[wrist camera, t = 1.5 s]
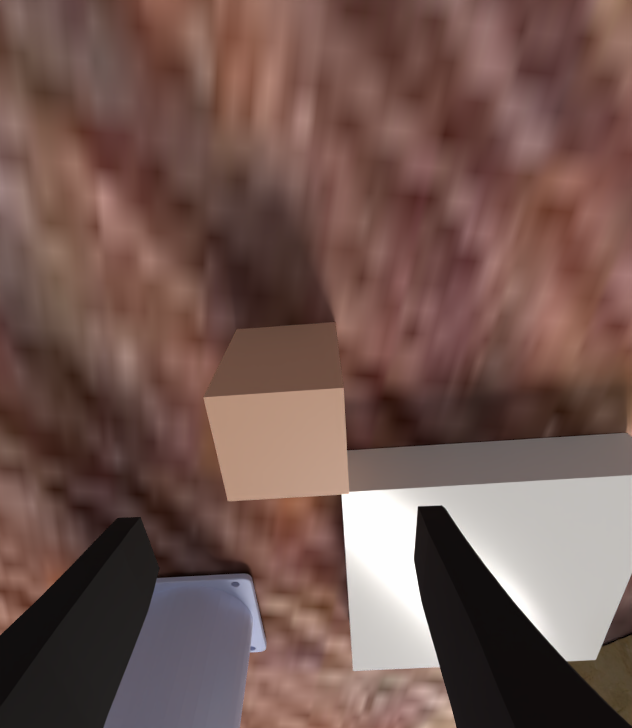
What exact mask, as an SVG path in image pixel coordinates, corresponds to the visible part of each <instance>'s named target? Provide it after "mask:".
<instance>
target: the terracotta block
mask: <svg viewBox="0 0 632 728" xmlns="http://www.w3.org/2000/svg"><path fill="white" fill-rule="evenodd" d="M204 402H205V406H206V410H207V414H208V419H209V423H210V427H211V431H212V435H213V440H214V444H215V448H216V452H217V457H218V461H219V465H220V469H221V474H222V478H223V482H224V486H225V491H226V495H227V499H228V501H240V500H257V499H274V498H291V497H308V496H325V495H342V494H349V478H348V459H347V441H346V422H345V403H344V386H343V379H342V371H341V363H340V355H339V347H338V339H337V332H336V324H335V322H328V323H315V324H301V325H288V326H274V327H260V328H247V329H236V331H235V333H234V335H233V338H232V340H231V342H230V344H229V346H228V348H227V350H226V352H225V354H224V356H223V358H222V360H221V362H220V364H219V366H218V368H217V371H216V373H215V375H214V377H213V379H212V381H211V383H210V385H209V387H208V389H207V391H206V393H205V395H204Z"/></svg>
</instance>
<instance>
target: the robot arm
mask: <svg viewBox="0 0 632 728" xmlns="http://www.w3.org/2000/svg"><path fill="white" fill-rule="evenodd" d="M414 565H415V570H416V576H417V582H418V587H419V592H420V597H421V602H422V606H423V610H424V613H425V617H426V620H427V624H428V627H429V631H430V634H431V638H432V641H433V645H434V648H435V652H436V655H437V659H438V662H439V666H440V669H441V672H442V676H443V679H444V683H445V686H446V690H447V693H448V697H449V700H450V704H451V707H452V711H453V715H454V719H455V723H456V727H457V728H632V726H631V725H630V724H629V723H628V722H627V721H626V720H625V719H624V718H622V717H621V716H620V715H619V714H618V713H617V712H616V711H615V710H614V709H613V708H612V707H611V706H610V705H609V704H608V703H607V702H606V701H605V700H604V699H603V698H602V697H601V696H600V695H599V694H598V693H597V692H596V691H595V690H594V689H593V688H592V687H591V686H590V685H589V684H588V683H587V682H586V681H585V680H584V679H583V678H582V677H581V676H580V675H579V674H578V673H577V672H576V671H575V669H574V668H573V667H572V666H571V665H570V664H569V663H568V662H567V661H566V660H565V659H564V658H563V657H562V656H561V655H560V654H559V653H558V651H557V650H556V649H555V648H554V647H553V646H552V645H551V644H550V643H549V642H548V640H547V639H546V638H545V637H544V636H543V635H542V634H541V633H540V631H539V630H538V629H537V628H536V627H535V626H534V625H533V623H532V622H531V621H530V620H529V619H528V618H527V616H526V615H525V614H524V613H523V612H522V610H521V609H520V608H519V607H518V606H517V605H516V603H515V602H514V601H513V600H512V598H511V597H510V596H509V595H508V594H507V592H506V591H505V590H504V589H503V587H502V586H501V585H500V583H499V582H498V581H497V580H496V578H495V577H494V576H493V575H492V573H491V572H490V571H489V569H488V568H487V567H486V566H485V564H484V563H483V562H482V560H481V559H480V558H479V556H478V555H477V553H476V552H475V551H474V549H473V548H472V547H471V545H470V544H469V542H468V541H467V540H466V538H465V537H464V535H463V534H462V532H461V531H460V529H459V528H458V527H457V525H456V524H455V522H454V521H453V519H452V518H451V516H450V514H449V513H448V511H447V510H446V508H444V507H443V506H442V505H440V506H418V511H417V523H416V535H415V548H414ZM158 572H159V566H158V563H157V560H156V558H155V555H154V552H153V550H152V547H151V544H150V541H149V539H148V536H147V533H146V531H145V528H144V525H143V522H142V520H141V517H131V518H117V519H116V520H115V521H114V522H113V523H112V524H111V525H110V526H109V527H108V528H107V529H106V530H105V531H104V533H103V534H102V535H101V536H100V537H99V538H98V539H97V540H96V541H95V542H94V543H93V544H92V545H91V546H90V547H89V548H88V549H87V550H86V551H85V552H84V553H83V554H82V555H81V556H80V557H79V558H78V559H77V560H76V561H75V563H74V564H73V565H72V566H71V567H70V568H69V569H68V570H67V571H66V572H65V573H64V574H63V575H62V576H61V577H60V578H59V579H58V580H57V581H56V582H55V583H54V584H53V585H52V586H51V587H50V588H49V589H48V590H47V591H46V592H45V593H44V594H43V595H42V596H41V597H40V598H39V599H38V600H37V601H36V602H35V603H34V604H33V605H32V606H31V607H30V608H29V609H28V610H26V611H25V612H24V613H23V614H22V615H21V616H20V617H19V618H18V619H17V620H16V621H15V622H14V623H13V624H12V625H11V626H10V627H9V628H8V629H6V630H5V631H4V632H3V633H2V634H1V635H0V728H240V722H241V714H242V707H243V699H244V692H245V685H246V677H247V670H248V662H249V655H250V652H262V651H264V650H265V649H266V643H267V642H266V638H265V634H264V629H263V625H262V620H261V616H260V611H259V607H258V603H257V598H256V594H255V589H254V585H253V581H252V577H251V576H250V575H249V574H245V573H241V574H223V575H204V576H185V577H166V578H157V576H158Z"/></svg>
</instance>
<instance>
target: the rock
mask: <svg viewBox="0 0 632 728" xmlns="http://www.w3.org/2000/svg"><path fill="white" fill-rule="evenodd" d="M567 662H568V663H569V664H570V665H571V666H572V667H573V668H574V669H575V671H576V672H577V673H578V674H579V675H580V676H581V677H582V678H583V679H584V680H585V681H586V682H587V683H588V684H589V685H590V686H591V687H592V688H593V689H594V690H595V691H596V692H597V693H598V694H599V695H600V696H601V697H602V698H603V699H604V700H605V701H606V702H607V703H608V704H609V705H610V706H611V707H612V708H613V709H614V710H615V711H616V712H617V713H618V714H619V715H620V716H621V717H622V718H624V719H625V720H626V721H627V722H628V723H629V724H630V725H631V726H632V635H629V636H627V637H626V638H622V639H618V640H616V641H615V642H613V643H610V644H608V645H605V646H601V649H600V651H599V653H598V656H597V658H596V660H584V661H567Z"/></svg>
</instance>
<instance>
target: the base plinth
mask: <svg viewBox="0 0 632 728" xmlns="http://www.w3.org/2000/svg"><path fill="white" fill-rule="evenodd" d="M347 459H348V478H349V494H342V495H341V501H342V516H343V532H344V547H345V562H346V577H347V592H348V608H349V623H350V636H351V649H352V663H353V671H362V670H384V669H406V668H429V667H440V666H439V662H438V659H437V655H436V652H435V648H434V645H433V641H432V638H431V634H430V631H429V627H428V624H427V620H426V617H425V613H424V610H423V606H422V602H421V597H420V592H419V587H418V582H417V576H416V570H415V565H414V548H415V535H416V523H417V511H418V506H440V505H442V506H443V507H444V508H446V510H447V511H448V513H449V514H450V516H451V518H452V519H453V521H454V522H455V524H456V525H457V527H458V528H459V529H460V531H461V532H462V534H463V535H464V537H465V538H466V540H467V541H468V542H469V544H470V545H471V547H472V548H473V549H474V551H475V552H476V553H477V555H478V556H479V558H480V559H481V560H482V562H483V563H484V564H485V566H486V567H487V568H488V569H489V571H490V572H491V573H492V575H493V576H494V577H495V578H496V580H497V581H498V582H499V583H500V585H501V586H502V587H503V589H504V590H505V591H506V592H507V594H508V595H509V596H510V597H511V598H512V600H513V601H514V602H515V603H516V605H517V606H518V607H519V608H520V609H521V610H522V612H523V613H524V614H525V615H526V616H527V618H528V619H529V620H530V621H531V622H532V623H533V625H534V626H535V627H536V628H537V629H538V630H539V631H540V633H541V634H542V635H543V636H544V637H545V638H546V639H547V640H548V642H549V643H550V644H551V645H552V646H553V647H554V648H555V649H556V650H557V651H558V653H559V654H560V655H561V656H562V657H563V658H564V659H565V660H566V661H584V660H596V658H597V656H598V653H599V651H600V649H601V646H602V644H603V641H604V639H605V637H606V634H607V632H608V629H609V627H610V624H611V622H612V620H613V617H614V615H615V612H616V610H617V608H618V605H619V603H620V600H621V598H622V596H623V593H624V591H625V588H626V586H627V584H628V581H629V579H630V576H631V574H632V437H631V436H630V435H629V434H628V433H616V434H600V435H584V436H568V437H552V438H536V439H521V440H505V441H489V442H473V443H457V444H441V445H425V446H409V447H393V448H378V449H362V450H347Z"/></svg>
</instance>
